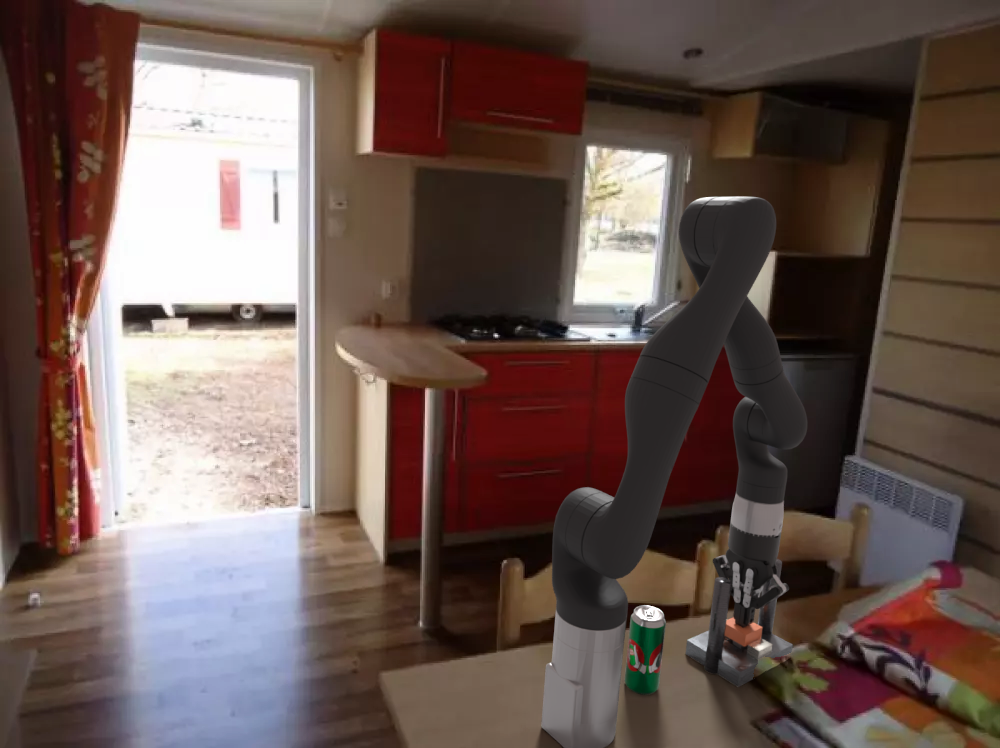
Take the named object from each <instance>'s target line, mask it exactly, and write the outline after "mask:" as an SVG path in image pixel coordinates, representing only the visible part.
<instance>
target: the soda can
mask: <svg viewBox="0 0 1000 748" xmlns="http://www.w3.org/2000/svg"><path fill="white" fill-rule="evenodd" d="M666 624H667V621H666V619H665V614H664V612H663V611H662V610H661V609H660V608H658V607H655V606H653V605H652V606H651V605H645V604H644V605H639V606H636V607H635V608H634V609H633V613H632V614H631V615H630V622H629V632H628V642H627V650H626V651H627V652H626V660H625V661H626V662H625V671H624V683H625V685H626V687H627V688H628V689H629V690H630V691H631V692H633V693H635V694H637V695H643V696H647V695H648V696H649V695H652V694H654V693H655V692H657V691H658V690H659V688H660V681H661V674H662V672H661V671H662V663H663V662H662V661H663V653H664V644H665V637H666V636H665V634H666V626H667V625H666Z"/></svg>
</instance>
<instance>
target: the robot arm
mask: <svg viewBox="0 0 1000 748" xmlns="http://www.w3.org/2000/svg"><path fill="white" fill-rule="evenodd" d="M678 226H679V227H678V238H679V243H680V248H681V250H682V253H683V256H684V258H685V260H686V261H685V262H686V263H687V266H688V267H689V270H690V271H691V273H692V274H691V275H693V278H694V280H695V282H696V284H697V287H698V288H699V289H698V290H697V291H696V293H694V295H693V296H692V297H691V299H690V300H689V301H688V302H686V304H685V305H684V306H682V308H680V309H679V310H678V311H677V312H676V313H674V315H673V316H671V317H670V318H669V319H668V320H667V321H666V322H665V323H664V324H663V325H661V327H659V328H658V330H656V331H655V333H653V334H652V336H651V337H650V338H649V340H648V341H647V342H645V343H646V344H645V345H643V346H644V347H643V348H642V350H641V352H640V355H639V357H638V359H637V362H636V364H635V366H634V369H633V372H632V374H631V376H630V378H629V381H628V384H627V387H626V390H625V394H624V396H625V397H624V415H625V426H626V428H625V429H626V436H627V438H626V439H627V458H626V464H625V468H624V472H623V474H622V478H621V481H620V483H619V486H618V488H617V491H616V494H615V495H614V496H612V495H609V494H608V493H606V492H603V491H602V490H599V489H596V488H593V487H589V486H587V487H585V486H584V487H580V488H579V487H578V488H577V489H575V490H573V491H571V492H570V493H569V494H568V495H566V497H565V498H563V499H564V500H562V503H561V504H560V506H559V508H558V510H557V512H556V515H555V519H554V525H553V532H552V533H553V534H552V550H551V551H552V555H551V558H552V559H551V584H552V585H551V587H552V590H553V593H554V594H555V595H554V596H555V599H556V601H555V603H556V604H555V615H554V617H555V618H554V628H553V629H554V632H553V642H552V643H553V645H552V653H551V655H552V656H551V657H552V658H551V662H549V663H546V665H545V671H544V672H545V674H544V687H543V700H542V701H543V702H542V715H541V723H540V724H541V726H540V727H541V728H542V729H543V730H544V731H546V732H547V734H549V736H551V737H552V738H553V739H554V740H556V742H557V743H558V744H560V745H561V746H562V747H563V748H606V747H608V746H610V744H611V743H613V741H614V739H615V737H616V733H617V732H616V731H617V723H618V722H617V721H618V720H617V719H618V710H619V701H620V700H619V699H620V690H621V689H620V688H621V678H622V669H623V659H624V658H623V657H624V648H625V637H626V628H627V619H628V609H629V608H628V607H629V602H628V596H627V593H626V592H625V589H624V588H623V586H622V585H621V584H620V583H619V581H618V579H621V578H624V577H626V576H628V575H629V574H631V572H632V571H634V570H635V569H636V567H637V566H638V565H639V563H640V561H641V560H642V558H643V556H644V554H645V552H646V550H647V548H648V546H649V543H650V540H651V538H652V534H653V531H654V528H655V525H656V522H657V518H658V515H659V512H660V508H661V506H662V503H663V499H664V497H665V493H666V489H667V486H668V483H669V479H670V476H671V473H672V471H673V468H674V466H675V463H676V461H677V458H678V456H679V453H680V449H682V448H681V447H682V445H683V442H684V440H685V437H686V435H687V433H688V431H689V427H690V426H691V423H692V421H693V419H694V416H695V414H696V412H697V411H698V409H699V406H700V403H701V401H702V399H703V396H704V394H705V392H706V390H707V387H708V384H709V382H710V379H711V376H712V375H713V374H712V373H713V370H714V368H715V365H716V362H717V360H718V359H719V356H720V353H721V352H722V349H723V347H724V349H725V353H726V357H727V361H728V364H729V368H730V372H731V376H732V379H733V382H734V385H735V388H736V389H737V391H738V392H739V393H740V394H741V395H742V396H744V397H743V398H742V399H741V400H740V401H739V402H738V404H737V406H736V408H735V410H734V413H733V418H732V430H733V437H734V444H735V449H736V450H735V452H736V458H737V464H738V473H737V474H738V475H737V481H736V491H735V496H734V499H733V503H732V509H731V515H730V516H731V517H730V524H729V531H728V542H727V546H728V548H727V550H726V551H725V554H722V555H720V556H716V557H713V559H712V564H713V566H714V568H715V570H716V571H715V572H716V573H717V576H718V577H723V578H727V579H729V580H730V581H731V590H730V596H732V598H733V600H734V606H733V607H734V609H733V613H732V614H733V615H732V617H734V619H735V623H736V624H737V625H739V626H741V627H743V628H744V627H746V626H748V625H750V624H752V623H753V622H754V621H755V614H756V610H760V608H761V607H763V606H766V605H768V604H769V603H771V602H772V601H774V600H775V599H777V600H778V598H780V597H781V596H783V595H784V594H785V593H786V592H788V591H789V590H790V587H789V585H788V584H787V583H785V582H784V583H783V582H782V581H781V578H780V579H779V578H778V577H777V572H778V571H777V567H776V559H778V556H779V553H780V552H779V551H780V544H781V538H782V537H781V536H782V529H783V528H784V526H783V521H784V514H785V512H784V511H785V510H784V509H785V508H784V507H785V506H784V504H785V494H786V487H787V481H788V468H787V466H786V465H785V464H784V463H783V462H782V461H781V460H779V459H778V458H777V457H775V456H773V455H772V453H770V451H769V448H768V446H769V447H772V448H775V449H778V450H792V449H794V448H797V447H798V446H799V445H800V444H801V443H802V442H803V440H804V439H805V437H806V435H807V432H808V431H807V430H808V417H807V413H806V409H805V407H804V405H803V403H802V401H801V399H800V397H799V396H798V394H797V392H796V390H795V389H794V386H793V385H792V383H791V382H790V380H789V379H788V377H787V375H786V374H785V372H784V366H783V362H782V357H781V353H780V349H779V345H778V341H777V338H776V336H775V333H774V332H773V329H772V327H771V326H770V325H769V323H768V321H767V320H766V318H765V317H764V316H763V314H762V313H761V312H760V311H759V310H758V308H757V307H756V306H755V304H754V303H753V302H752V300H751V299H750V298H749V296H748V295H749V294H750V291H751V290H752V288H753V287H754V286H753V285H754V284H755V282H756V280H757V279H758V277H759V274H760V273H761V271H762V269H763V267H764V266H765V264H766V261H767V259H768V258H769V255H770V252H771V250H772V247H773V244H774V240H775V236H776V230H777V216H776V212H775V210H774V206H773V205H772V204H771V203H770V202H769V201H768V200H766V199H765V198H762V197H756V196H739V195H738V196H708V197H706V196H705V197H700V198H697V199H695V200H694V201H692V202H690V203H689V204H688V205H687V206H686V208H685V209H684V211H683V213H682V214H681V218H680V221H679V225H678ZM769 581H770V584H769V586H768V590H769V591H768V592H767V593H766V594H764V595H763V596H762V595H761V594H762V590H763V586H764V585H765V584H766V583H768V582H769Z"/></svg>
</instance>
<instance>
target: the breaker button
mask: <svg viewBox="0 0 1000 748" xmlns="http://www.w3.org/2000/svg"><path fill="white" fill-rule="evenodd" d="M762 628H763V627H761V626H759V625H758V623H756V622H754V621H753V623H752V624H750V625H748V626H746V627H744V628H743V627H741V626H739V625H737V624H736V623H735V619H734V616H732V617H730V618H729V619H727V621H726V629H725V636H727V637H728V638H730V639H732V640H733V645H735V646H737V647H738V648H740V649H742V650H743V649H745V648H747V645H749V644H751V643H753V642H755V641H757V640H759V639H761V635H762Z"/></svg>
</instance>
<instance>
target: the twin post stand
mask: <svg viewBox="0 0 1000 748" xmlns="http://www.w3.org/2000/svg"><path fill="white" fill-rule="evenodd" d="M776 567H777V571H778V572H777V577H778V578H779V579H780V580H781V573H782V572H781V571H782V567H783V561H782V560H781V559H779V558H777V559H776ZM769 584H770V581H769V582H768V583H766V584H765V585H764V586H763V590H762V591H761V596H763V595H764V594H766V593H767V592H768V591H769V590H768V586H769ZM730 590H731V581H730V580H729V579H727V578H723V577H719V576H718V577H715V579H714V584H713V591H712V592H713V595H712V600H711V601H712V602H711V609H710V610H711V611H710V617H709V627H708V630H706V631H704V632H702V633H700V634H697V635H695V636H693V637H691V638H688V639H687V640H686V646H685V655H687V656H688V657H690V658H691V659H692V660H693V661H694V660H695V662H697V663H699V664H700V665H702V666H704V667H703V668H704V671H706V672H707V673H709V674H711V675H718V676H720V677H721V678H722V679H724V680H726V681H728V683H731V684H732V685H734V686H736V687H737V688H739V687H741V686H742V685H744V684H746V683H748V682H750V681H752V680H754V679H753V677H754V674H753V673H754V669H755V667H756V665H757V664H758V659H760V658H762V657H764V656H765V657H771V658H775V657H781V656H784V655H787V654H789V653H791V652H792V653H793V647H794V645H793V643H791V642H789V641H786V640H785V639H783V638H781V637H780V636H777V635H776V634H774V633H773V630H774V629H773V628H774V621H775V617H776V608H777V600H778V598H777V599H775V600H774V601H772V602H771V603H769V604H768V605H766V606H763V607H761V608H759V609H758V618H757V619H758V620H757V625H759V626H761V627H763V628H762V635H761V639H759V640H757V641H755V642H753V643H751V644H749V645H747V648H745V649H743V650H742V649H740V648H738V647H737V646H735V645H733V640H732V639H730V638H728V637H727V636H725V629H726V621H727V620H728V619H727V618H728V612H729V604H730V598H731V597H730V596H731V594H730Z"/></svg>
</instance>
